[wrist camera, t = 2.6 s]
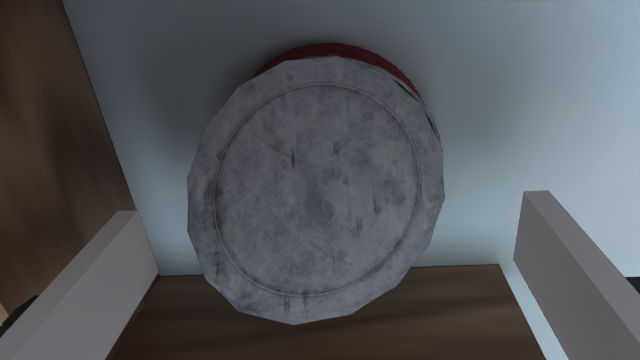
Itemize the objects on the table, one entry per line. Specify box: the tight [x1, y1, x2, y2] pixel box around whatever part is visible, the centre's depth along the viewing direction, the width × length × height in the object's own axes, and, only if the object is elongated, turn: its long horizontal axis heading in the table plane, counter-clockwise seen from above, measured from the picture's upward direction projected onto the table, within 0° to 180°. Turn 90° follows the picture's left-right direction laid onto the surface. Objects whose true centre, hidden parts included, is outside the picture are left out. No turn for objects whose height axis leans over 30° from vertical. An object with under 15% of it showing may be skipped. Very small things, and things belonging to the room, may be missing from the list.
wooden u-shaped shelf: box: [0, 0, 546, 360], centre depth 17 cm, size 18×21×9 cm
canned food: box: [187, 43, 445, 325], centre depth 18 cm, size 11×10×10 cm
